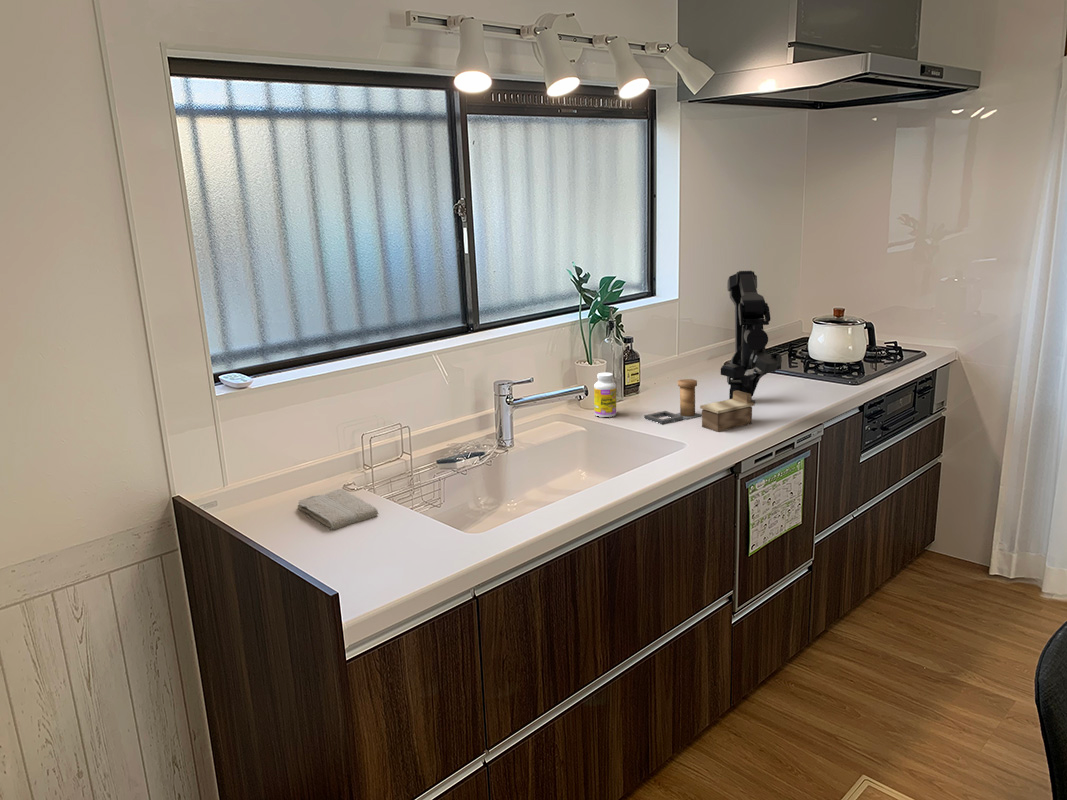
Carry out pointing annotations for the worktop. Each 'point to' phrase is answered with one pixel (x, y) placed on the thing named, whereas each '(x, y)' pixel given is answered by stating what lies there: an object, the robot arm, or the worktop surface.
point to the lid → (730, 403)
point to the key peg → (687, 396)
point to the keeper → (664, 413)
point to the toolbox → (726, 419)
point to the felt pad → (690, 416)
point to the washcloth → (336, 509)
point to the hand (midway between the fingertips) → (750, 396)
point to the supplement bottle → (605, 395)
